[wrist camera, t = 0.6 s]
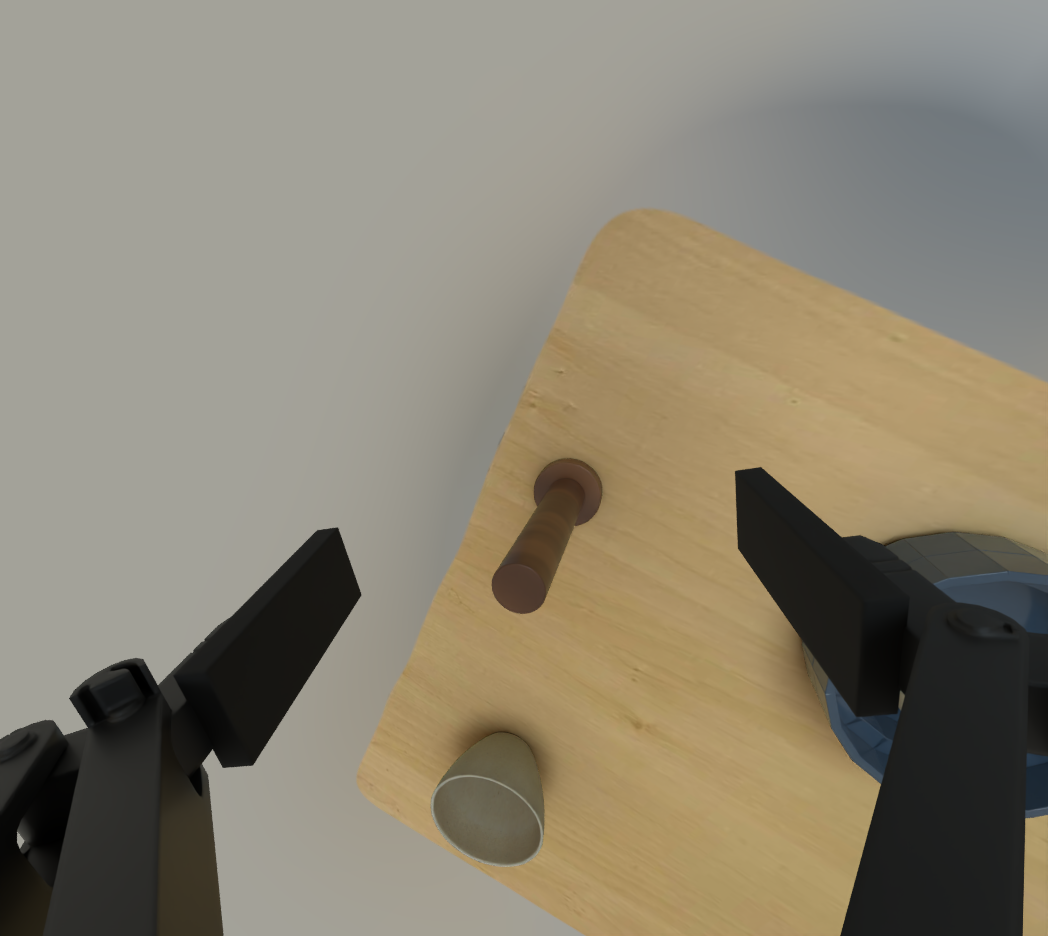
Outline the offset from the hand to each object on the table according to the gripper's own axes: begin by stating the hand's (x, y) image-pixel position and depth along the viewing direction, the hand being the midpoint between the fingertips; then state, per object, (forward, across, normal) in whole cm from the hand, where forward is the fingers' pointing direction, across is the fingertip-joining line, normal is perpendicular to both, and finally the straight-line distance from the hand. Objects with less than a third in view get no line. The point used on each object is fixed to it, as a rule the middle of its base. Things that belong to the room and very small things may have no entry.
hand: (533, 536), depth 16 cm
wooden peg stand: (+21, +1, -7) cm, 22 cm away
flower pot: (+20, -9, -34) cm, 41 cm away
